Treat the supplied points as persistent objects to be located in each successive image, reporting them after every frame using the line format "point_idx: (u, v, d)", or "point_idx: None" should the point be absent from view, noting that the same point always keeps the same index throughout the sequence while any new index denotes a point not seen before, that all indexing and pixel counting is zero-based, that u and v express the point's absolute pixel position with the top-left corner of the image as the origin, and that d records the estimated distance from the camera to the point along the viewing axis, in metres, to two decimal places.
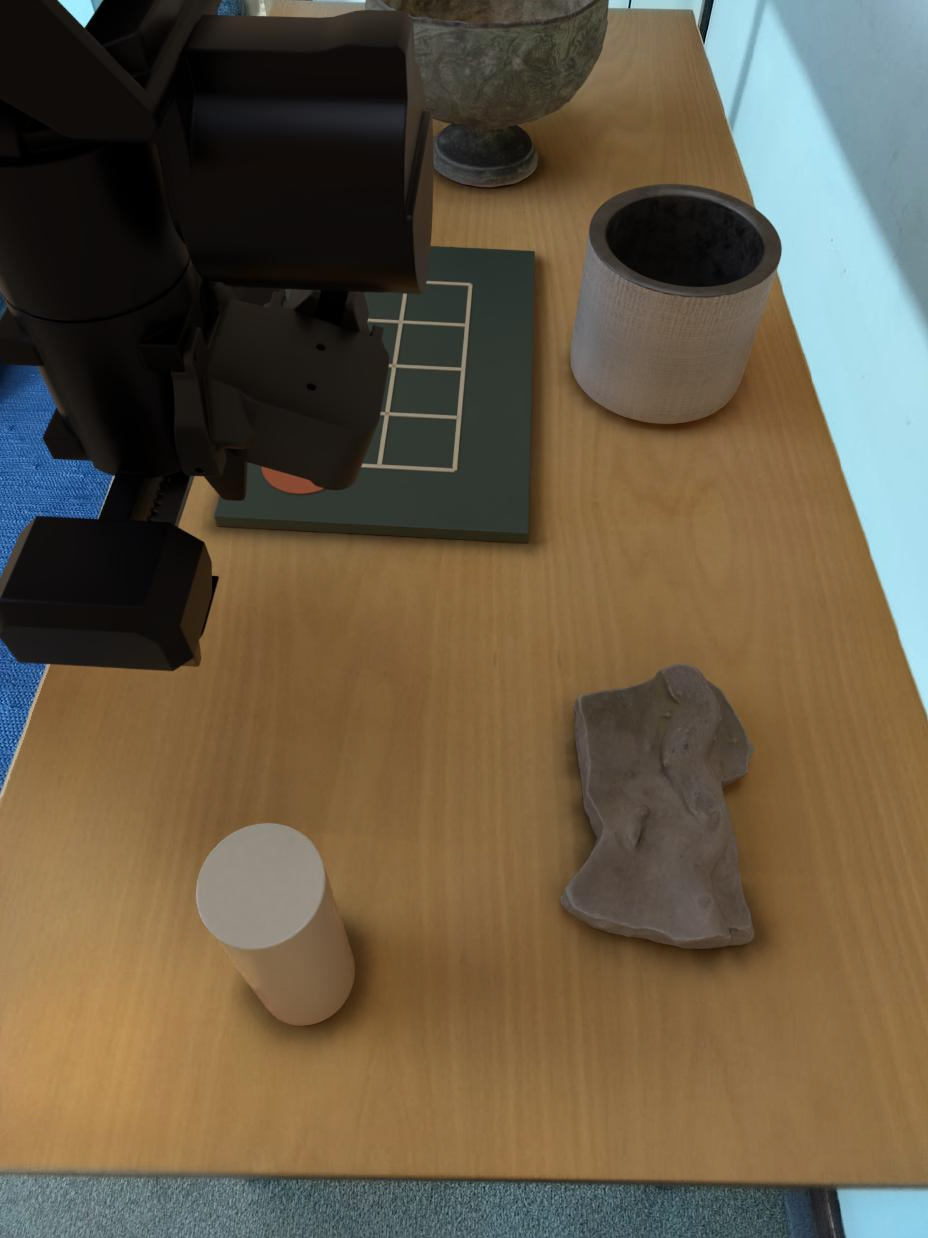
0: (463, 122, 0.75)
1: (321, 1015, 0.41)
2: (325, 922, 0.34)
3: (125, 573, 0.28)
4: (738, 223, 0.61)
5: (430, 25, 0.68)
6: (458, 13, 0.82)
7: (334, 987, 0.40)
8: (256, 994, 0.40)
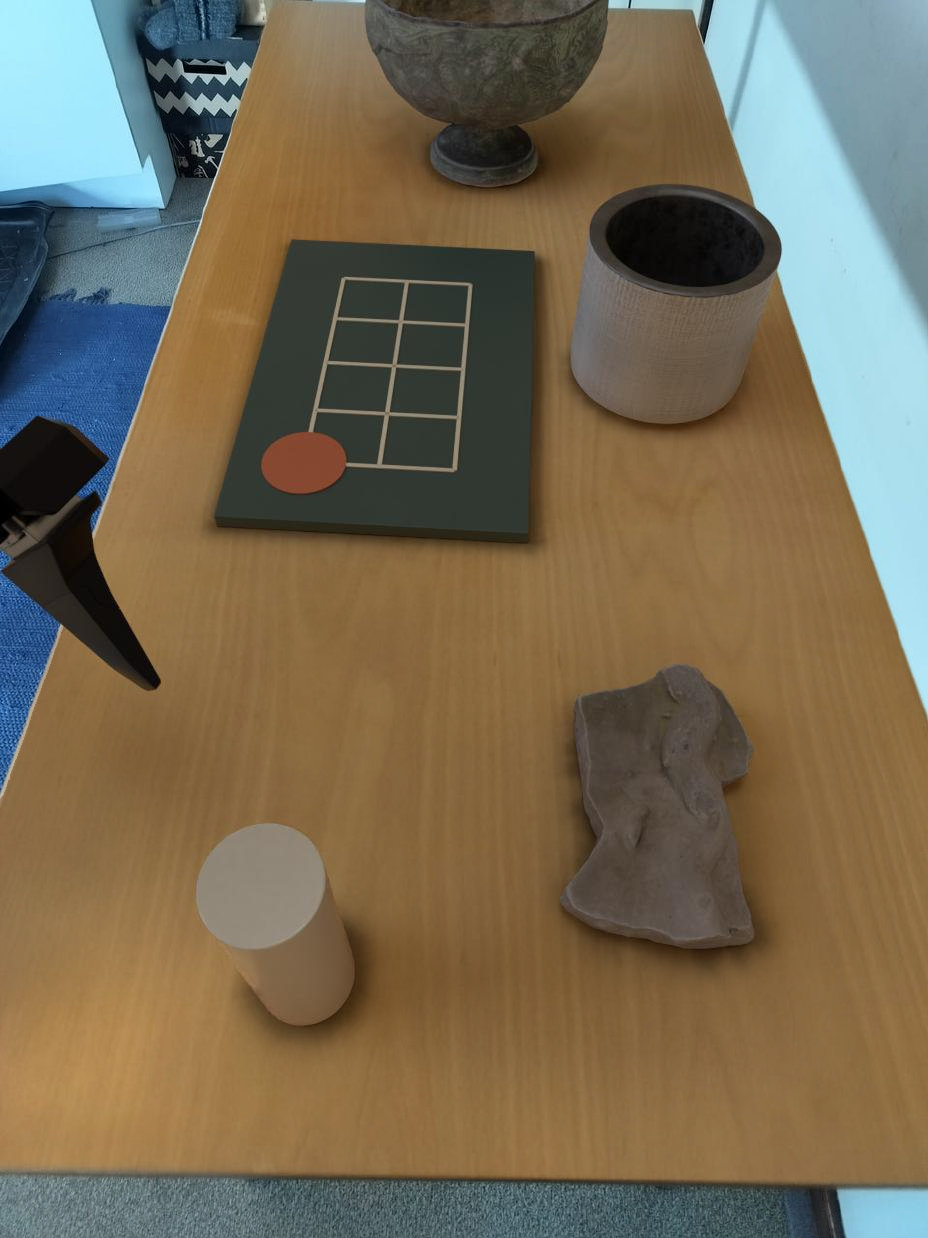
0: (463, 122, 0.75)
1: (321, 1015, 0.41)
2: (325, 922, 0.34)
3: None
4: (738, 223, 0.61)
5: (430, 25, 0.68)
6: (458, 13, 0.82)
7: (334, 987, 0.40)
8: (256, 994, 0.40)
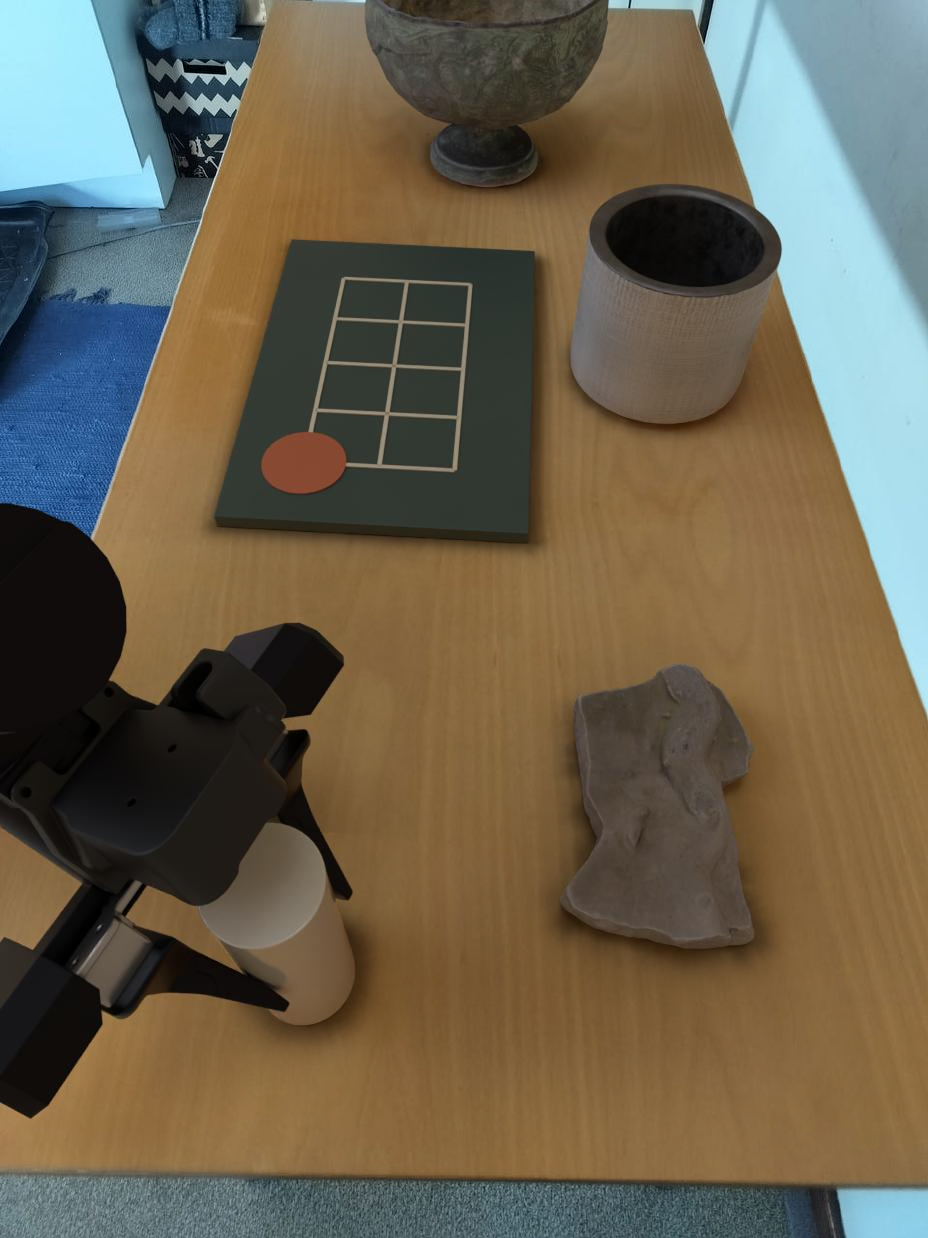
0: (463, 122, 0.75)
1: (321, 1015, 0.41)
2: (325, 922, 0.34)
3: None
4: (738, 223, 0.61)
5: (430, 25, 0.68)
6: (458, 13, 0.82)
7: (334, 987, 0.40)
8: None
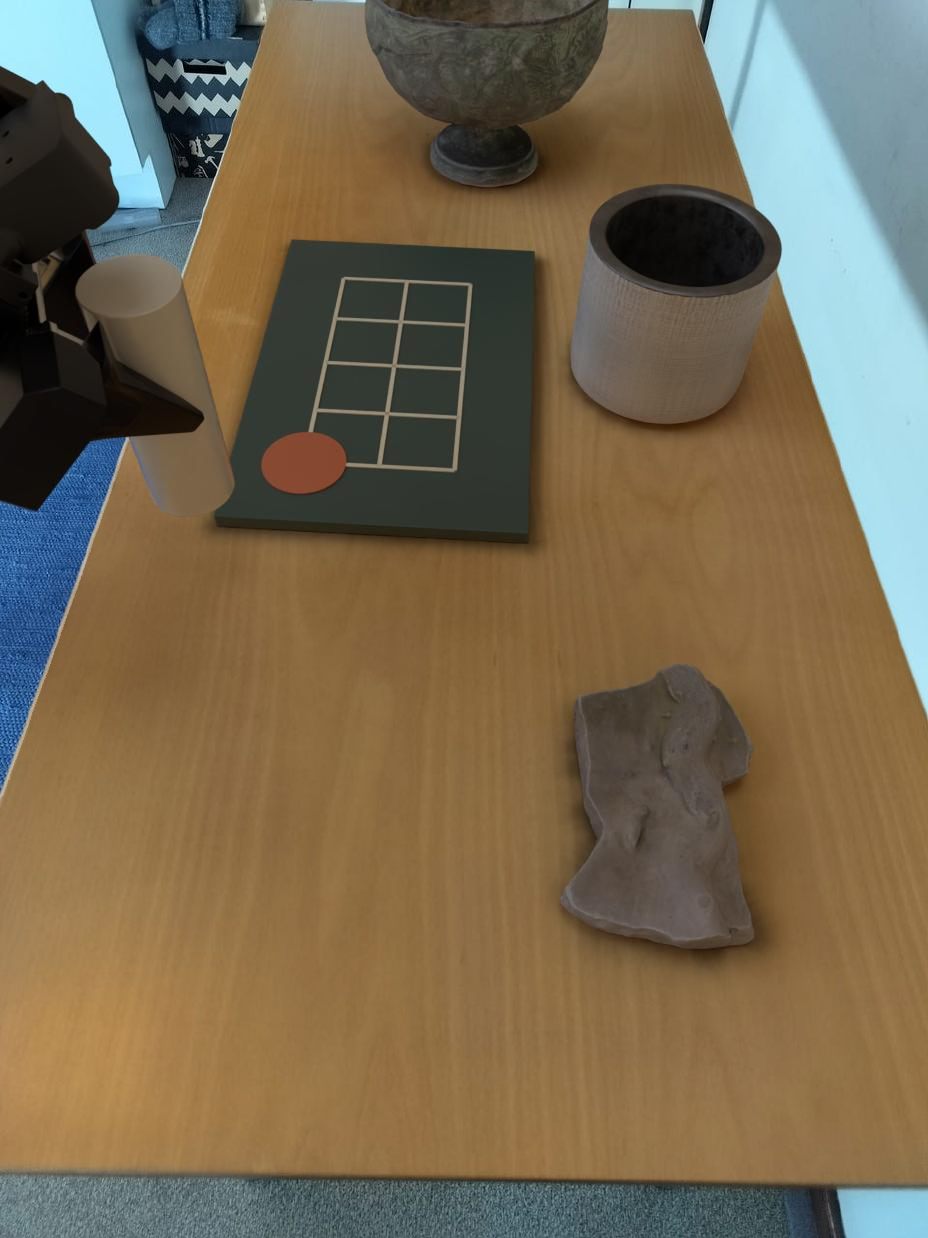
0: (463, 122, 0.75)
1: (226, 483, 0.50)
2: None
3: (10, 388, 0.34)
4: (738, 223, 0.61)
5: (430, 25, 0.68)
6: (458, 13, 0.82)
7: (222, 436, 0.48)
8: (172, 473, 0.47)
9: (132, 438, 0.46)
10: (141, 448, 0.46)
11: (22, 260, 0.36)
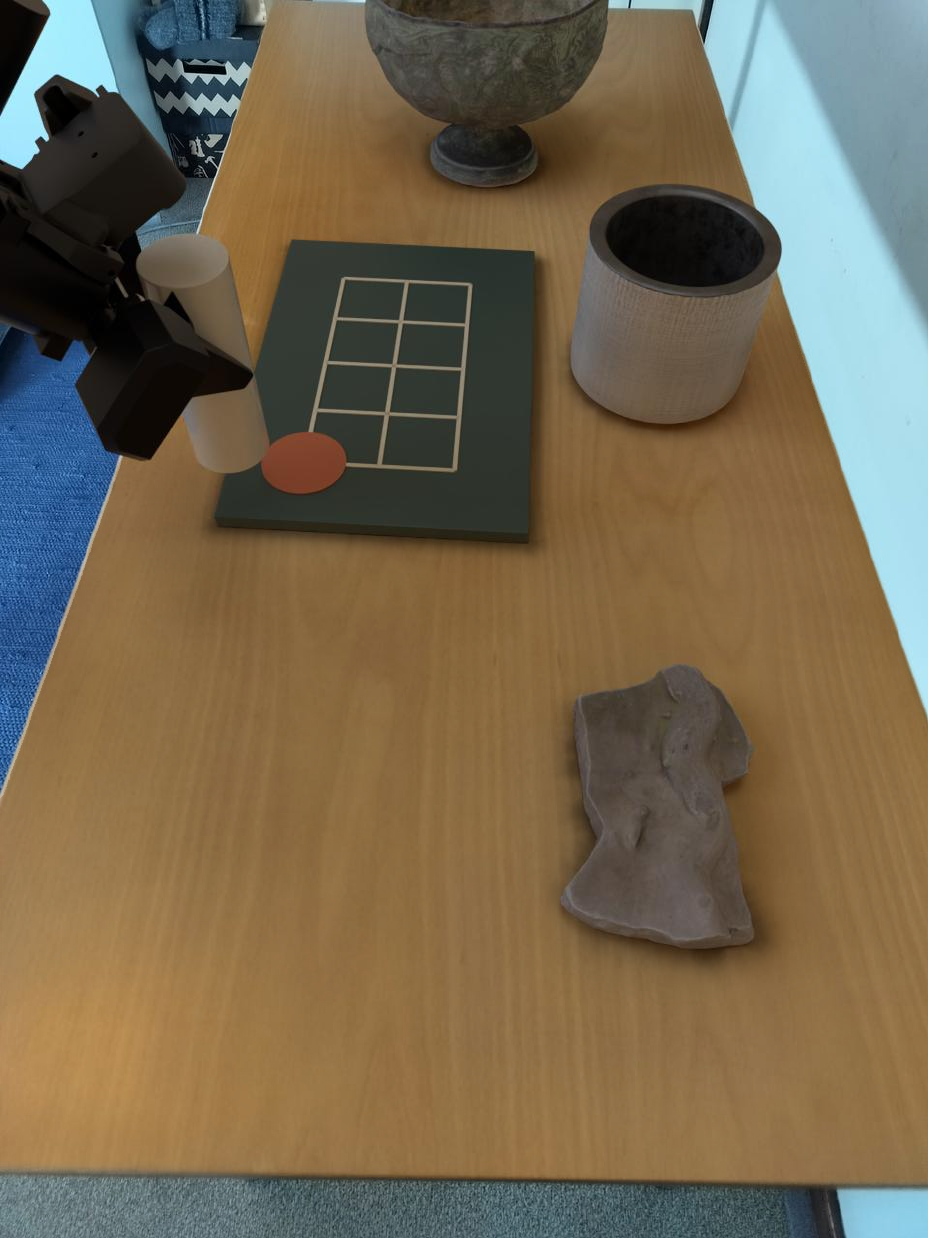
0: (463, 122, 0.75)
1: (265, 437, 0.56)
2: None
3: (126, 350, 0.39)
4: (738, 223, 0.61)
5: (430, 26, 0.68)
6: (458, 13, 0.82)
7: (258, 394, 0.54)
8: (223, 430, 0.52)
9: None
10: (195, 411, 0.51)
11: (107, 242, 0.41)
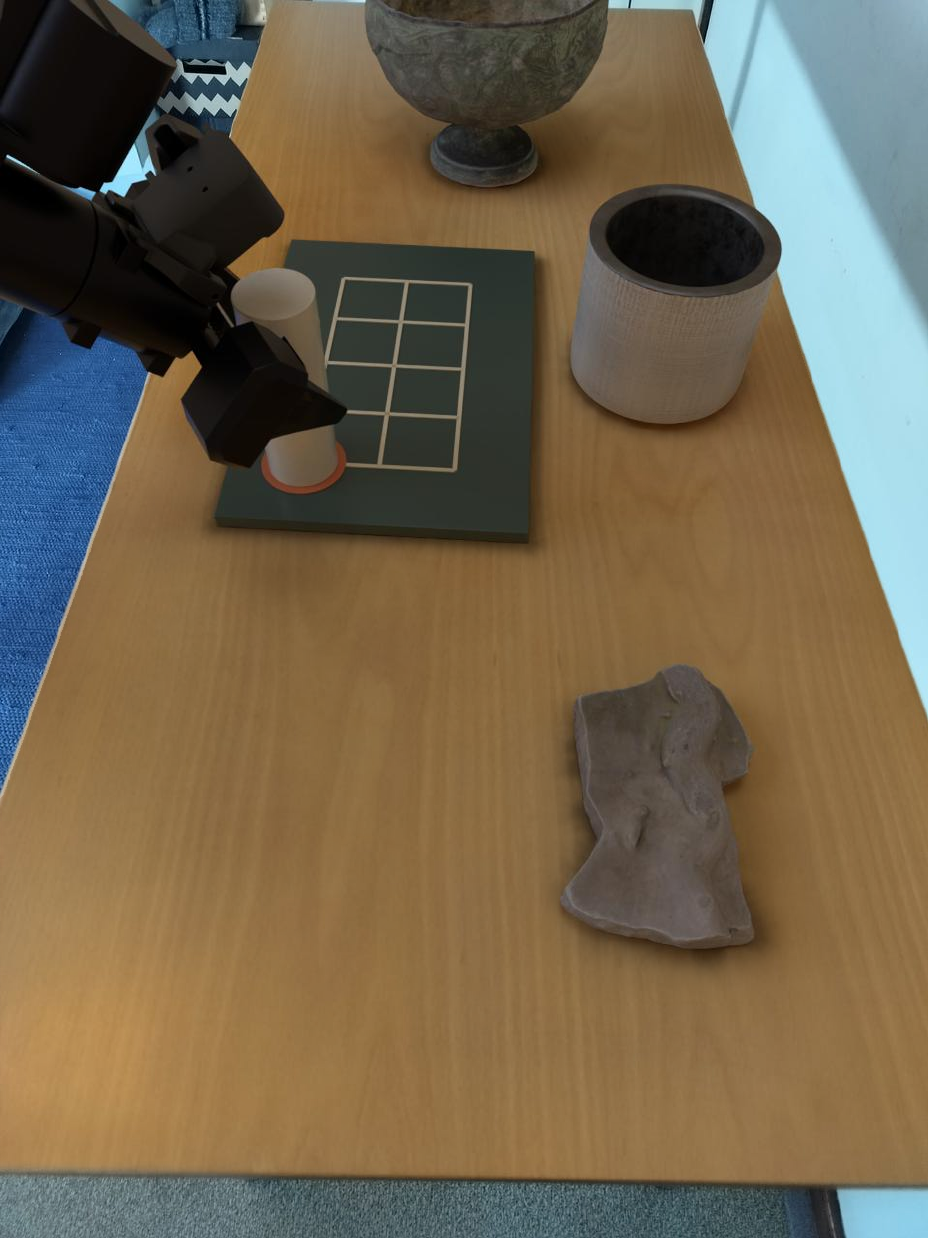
0: (463, 122, 0.75)
1: (335, 453, 0.60)
2: None
3: (234, 368, 0.43)
4: (738, 223, 0.61)
5: (430, 25, 0.68)
6: (458, 13, 0.82)
7: None
8: (301, 448, 0.57)
9: None
10: None
11: (212, 268, 0.45)
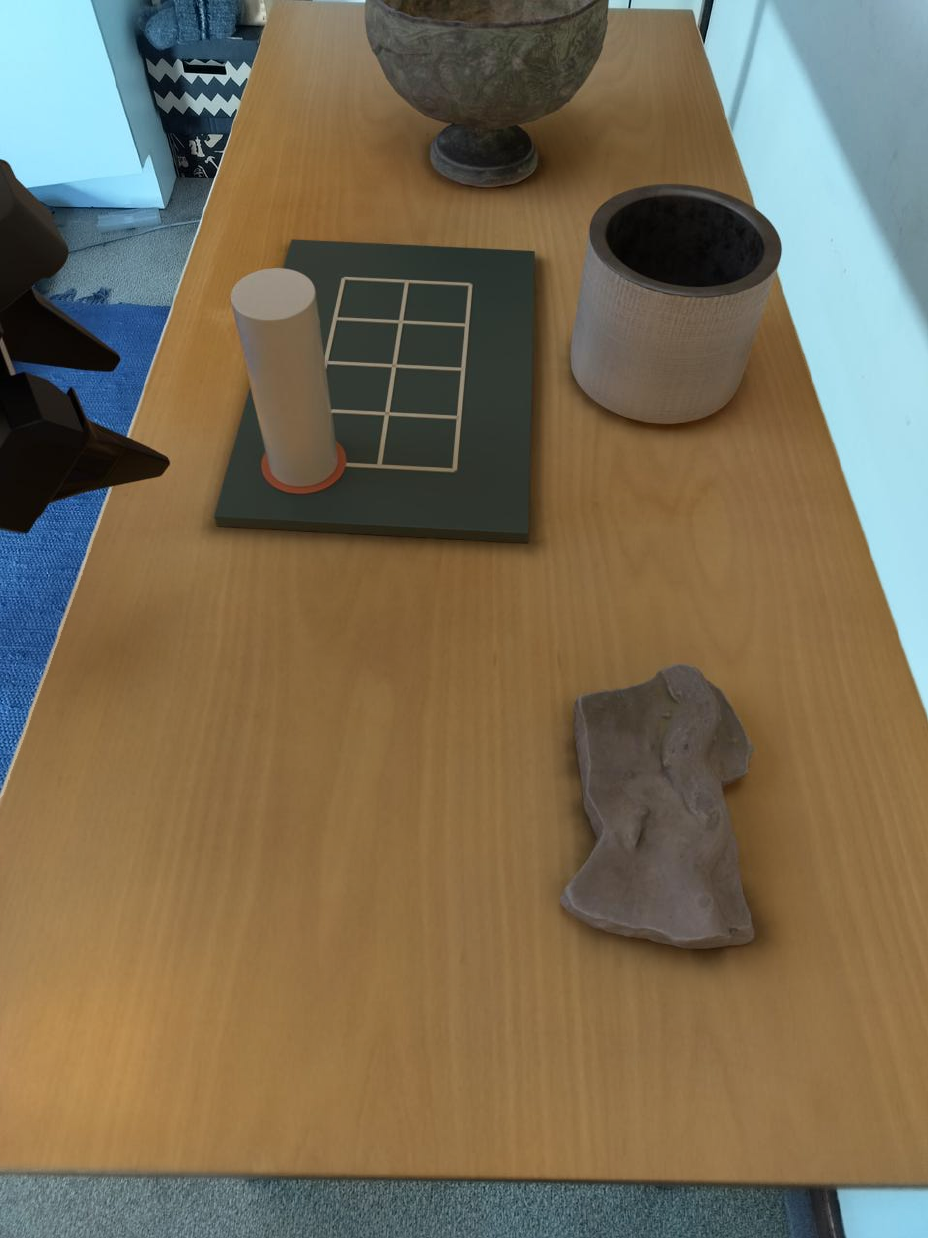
0: (463, 122, 0.75)
1: (335, 453, 0.60)
2: None
3: None
4: (738, 223, 0.61)
5: (430, 25, 0.68)
6: (458, 13, 0.82)
7: None
8: (301, 448, 0.57)
9: (268, 422, 0.55)
10: (276, 430, 0.55)
11: None
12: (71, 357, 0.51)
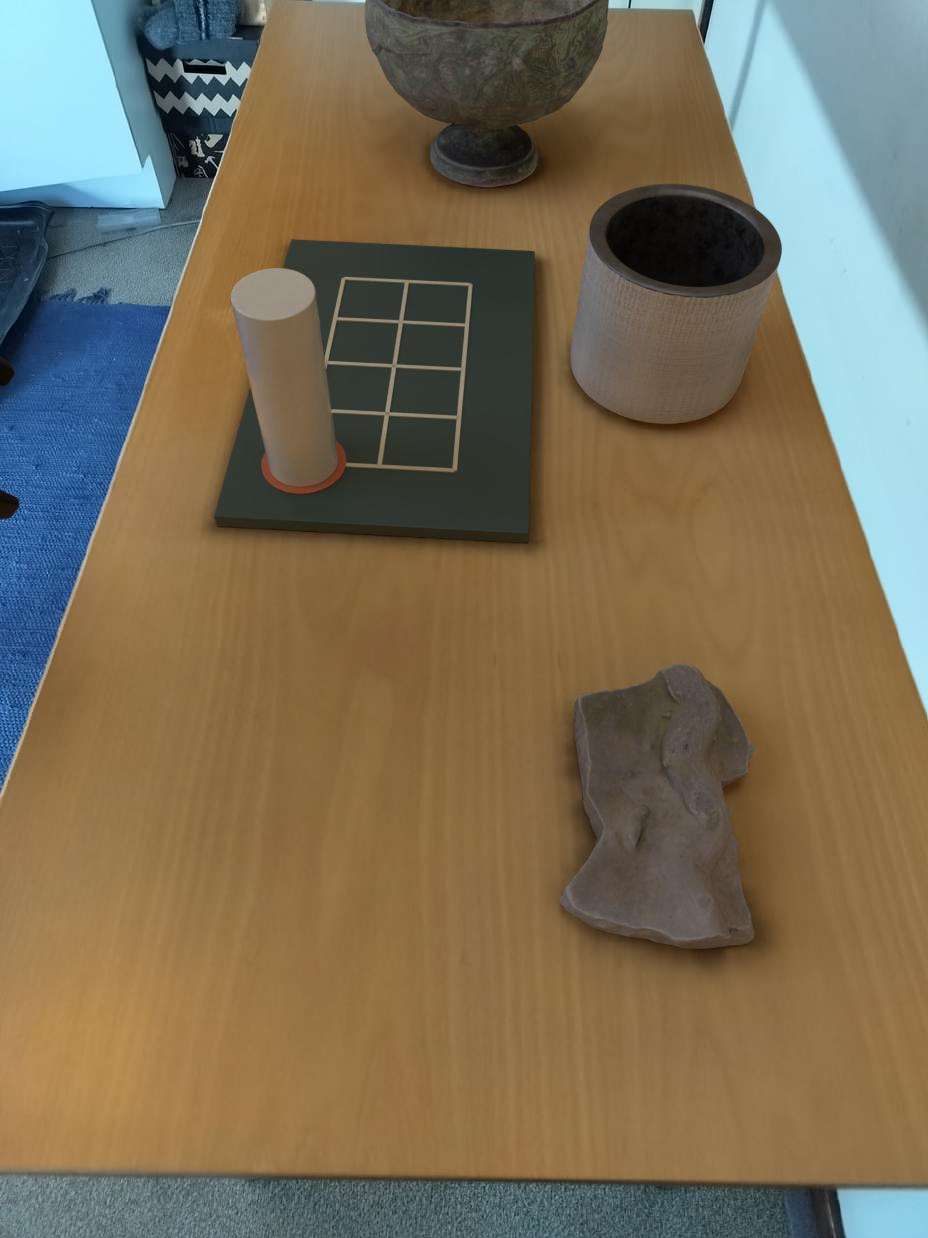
0: (463, 122, 0.75)
1: (335, 453, 0.60)
2: None
3: None
4: (738, 223, 0.61)
5: (430, 25, 0.68)
6: (458, 13, 0.82)
7: None
8: (301, 448, 0.57)
9: (268, 422, 0.55)
10: (276, 430, 0.55)
11: None
12: None
